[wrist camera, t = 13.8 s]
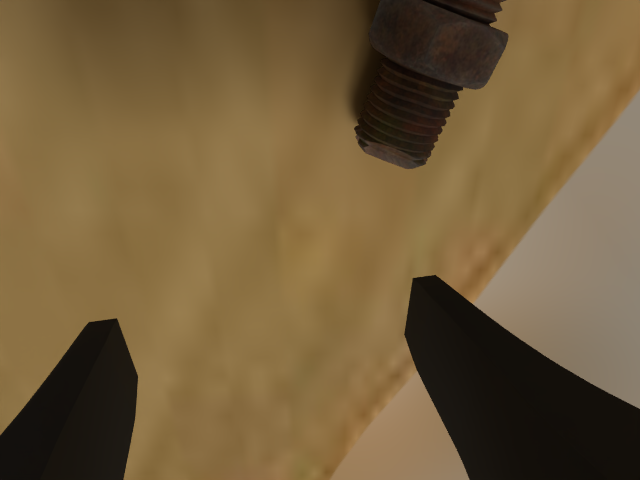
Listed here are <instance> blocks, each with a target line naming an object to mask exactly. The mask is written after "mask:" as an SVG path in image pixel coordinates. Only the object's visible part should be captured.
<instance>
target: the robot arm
mask: <svg viewBox="0 0 640 480" xmlns="http://www.w3.org/2000/svg"><path fill="white" fill-rule="evenodd" d="M404 335H405V338H406V341H407V344H408V346H409V349H410V352H411V355H412V358H413V361H414V363H415V366H416V369H417V371H418V373H419V375H420V377H421V379H422V381H423V383H424V385H425V387H426V389H427V391H428V393H429V395H430V397H431V399H432V401H433V403H434V405H435V407H436V409H437V411H438V413H439V415H440V417H441V419H442V421H443V423H444V425H445V427H446V429H447V431H448V433H449V435H450V437H451V439H452V441H453V443H454V445H455V447H456V449H457V451H458V453H459V456H460V458H461V460H462V462H463V464H464V467H465V469H466V472H467V474H468V477H469V479H470V480H640V409H639V408H637V407H635V406H633V405H631V404H629V403H627V402H625V401H623V400H621V399H619V398H617V397H615V396H613V395H611V394H609V393H607V392H605V391H604V390H602V389H600V388H598V387H596V386H594V385H593V384H590V383H589V382H587V381H586V380H584V379H582V378H580V377H579V376H577V375H575V374H574V373H572V372H570V371H568V370H567V369H565V368H563V367H562V366H560V365H558V364H556V363H555V362H554V361H552V360H550V359H549V358H547V357H546V356H544V355H542V354H541V353H540V352H538V351H537V350H535V349H533V348H532V347H531V346H529V345H528V344H526V343H525V342H523V341H521V340H520V339H519V338H517V337H516V336H515V335H513V334H512V333H510V332H509V331H508V330H506V329H504V328H503V327H502V326H500V325H499V324H498V323H497V322H495V321H494V320H492V319H491V318H490V317H489V316H487V315H486V314H485V313H483V312H482V311H481V310H479V309H478V308H477V307H475V306H474V305H473V304H472V303H471V302H469V301H468V300H467V299H465V298H464V297H463V296H462V295H460V294H459V293H458V292H457V291H455V290H454V289H453V288H452V287H450V286H449V285H448V284H446V283H445V282H444V281H443V280H441V279H440V278H439V277H437V276H436V275H432V276H425V277H417V278H413V281H412V288H411V294H410V301H409V307H408V314H407V321H406V327H405V334H404ZM137 383H138V375H137V372H136V370H135V367H134V364H133V361H132V359H131V356H130V353H129V350H128V348H127V345H126V342H125V339H124V337H123V334H122V331H121V328H120V326H119V323H118V320H117V318H116V319H109V320H102V321H94V322H89V323H88V324H87V325H86V326H85V327H84V329H83V330H82V331H81V333H80V334H79V335H78V337H77V338H76V340H75V341H74V342H73V344H72V345H71V346H70V348H69V349H68V350H67V352H66V353H65V355H64V356H63V357H62V359H61V360H60V361H59V363H58V364H57V365H56V367H55V368H54V369H53V371H52V372H51V373H50V375H49V376H48V377H47V379H46V380H45V381H44V382H43V384H42V385H41V386H40V388H39V389H38V390H37V391H36V393H35V394H34V395H33V396H32V398H31V399H30V400H29V402H28V403H27V404H26V405H25V407H24V408H23V409H22V410H21V412H20V413H19V414H18V415H17V416H16V418H15V419H14V420H13V421H12V422H11V423H10V425H9V426H8V427H7V428H6V429H5V430H4V432H3V433H2V434H1V435H0V480H123V478H124V473H125V468H126V463H127V458H128V453H129V448H130V443H131V437H132V432H133V427H134V421H135V413H136V400H137Z"/></svg>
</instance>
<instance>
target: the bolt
mask: <svg viewBox="0 0 640 480" xmlns="http://www.w3.org/2000/svg"><path fill="white" fill-rule="evenodd" d="M503 1H506V0H380V3H379V6H378V9H377V11H376V14H375V17H374V20H373V23H372V25H371V28H370V31H369V40H370V42H371V45H372V47H373V48H374V49H375V50H377V51H378V52H380V53H382V54H383V55H385V56H386V57H387V58H385V59H382V60H381V61H380V62H381V64H382V65H383V67H381V68H379V69H377V71H378V73H379V76H377V77H375V78H374V81H375V82H376V84H375V85H372V86H371V90H372V93H370V94H368V95H367V97H368V99H369V101H368V102H366V103H365V104H364V107H365V109H366V110H363V111H362V112H361V113H360V114H361V116H362V118H359V119H358V120H357V121H358V124H359V125H358V126H356V127H355V128H354V130H355V131H356V134H357V136H356V139H357V140H358V144H359V146H360V147H361V148H362V150H363V151H364V152H365V153H367V154H369V155H372V156H374V157H377V158H379V159H382V160H384V161H387V162H389V163H392V164H395V165H397V166H400V167H403V168H405V169H413V168H416V167H419V166H422V165H424V164H426V162H425V161H427V158H428V157H430V156H431V150H433V148H434V147H435V146H434V144H433V143H435V142H437V141H438V134H441V132H442V128H441V126H445V124H446V120H445V118H447V117H449V116H450V111H449V109H453V108H454V106H455V105H454V102H453V100H457V99H459V97H458V93H457V91H461V90H463V87H465V88H469V89H480V88H482V87H484V86H485V85H486V83H487V82H488V80H489V79H490V77H491V75H492V73H493V71H494V69H495V67H496V65H497V63H498V61H499V59H500V57H501V55H502V53H503V51H504V49H505V47H506V44H507V41H508V34H507V33H505V32H503V31H501V30H498V29H496V28H493V27H491V26H490V25H489V24H490V23H492V22H495V21H497V19H496V17H495V14H494V13H496V12H499V11H502V8H501V6H500V2H503Z"/></svg>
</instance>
